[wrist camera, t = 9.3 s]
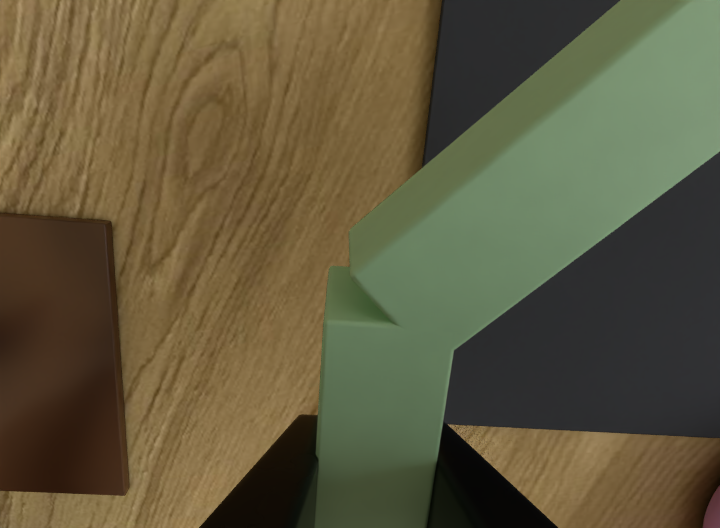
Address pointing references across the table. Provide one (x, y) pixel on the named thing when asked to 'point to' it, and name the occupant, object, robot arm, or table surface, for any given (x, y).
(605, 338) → the mat
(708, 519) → the teapot
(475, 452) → the robot arm
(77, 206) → the table surface
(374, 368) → the ring
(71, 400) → the stacking stand
